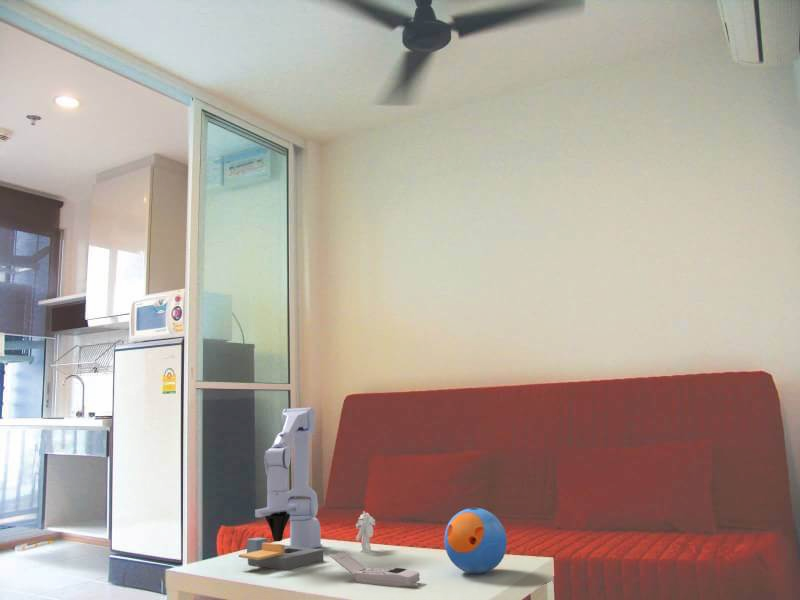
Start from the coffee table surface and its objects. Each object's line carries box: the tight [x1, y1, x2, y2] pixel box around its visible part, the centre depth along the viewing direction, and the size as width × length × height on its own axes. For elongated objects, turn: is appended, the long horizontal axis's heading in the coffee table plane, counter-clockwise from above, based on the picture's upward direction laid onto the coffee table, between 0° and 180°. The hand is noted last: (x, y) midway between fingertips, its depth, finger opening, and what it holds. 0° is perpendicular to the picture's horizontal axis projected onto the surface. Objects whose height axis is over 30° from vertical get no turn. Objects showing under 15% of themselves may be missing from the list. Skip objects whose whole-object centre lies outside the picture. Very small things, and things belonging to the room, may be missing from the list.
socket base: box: [247, 544, 324, 571], centre depth 181 cm, size 14×16×3 cm
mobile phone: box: [330, 551, 421, 588], centre depth 154 cm, size 6×6×25 cm
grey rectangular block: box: [246, 537, 268, 553], centre depth 191 cm, size 4×4×5 cm
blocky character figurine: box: [355, 510, 376, 553], centre depth 195 cm, size 9×4×12 cm, turn 152°
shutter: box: [238, 542, 286, 560], centre depth 175 cm, size 9×8×2 cm
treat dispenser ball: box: [443, 507, 508, 575], centre depth 160 cm, size 16×15×15 cm
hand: (277, 540), depth 180 cm, fingers closed
